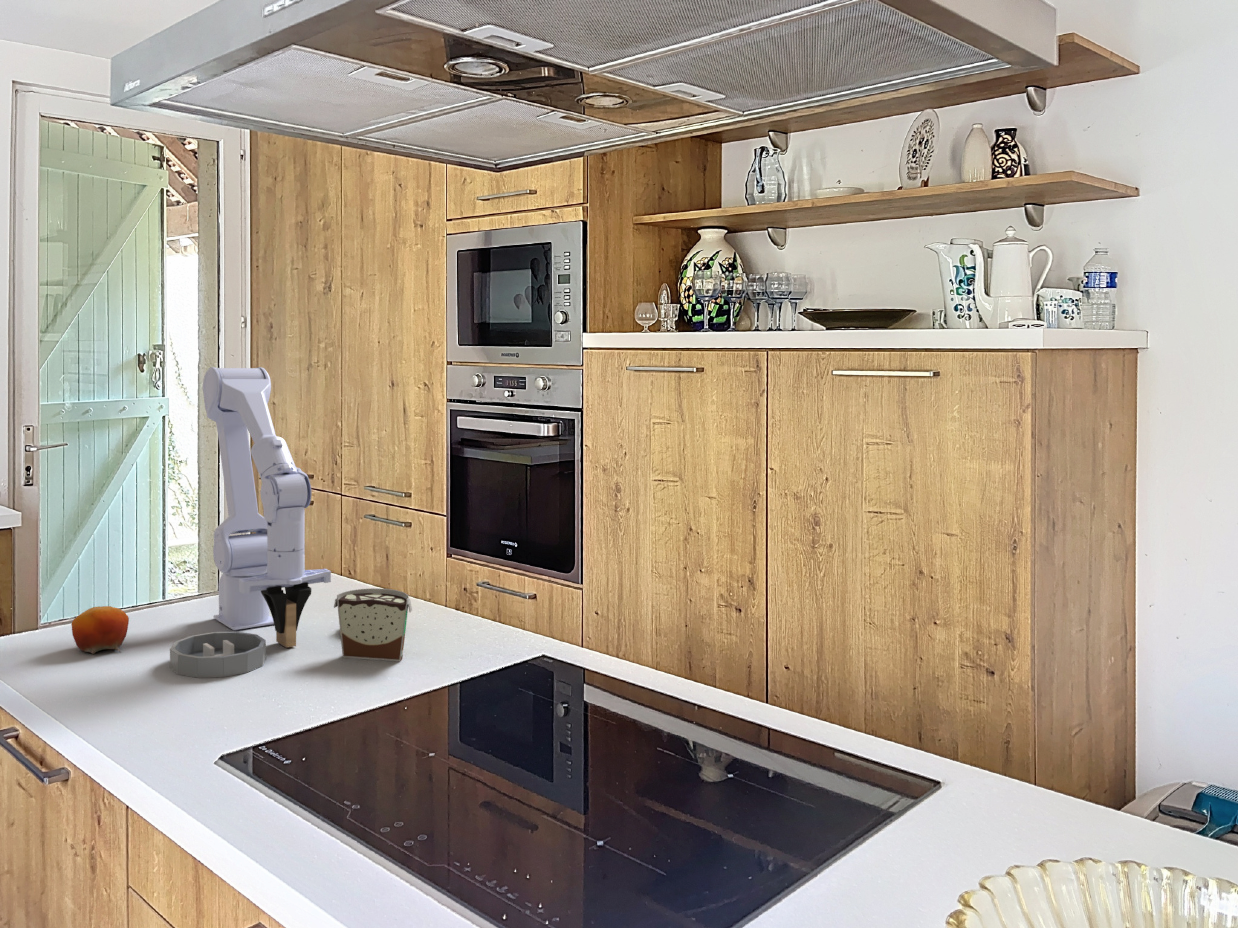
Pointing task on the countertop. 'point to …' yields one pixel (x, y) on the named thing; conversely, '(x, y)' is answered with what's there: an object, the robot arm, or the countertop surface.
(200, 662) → the grey faceted hollow container
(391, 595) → the food container
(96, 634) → the fruit
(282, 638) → the tan wooden beam
